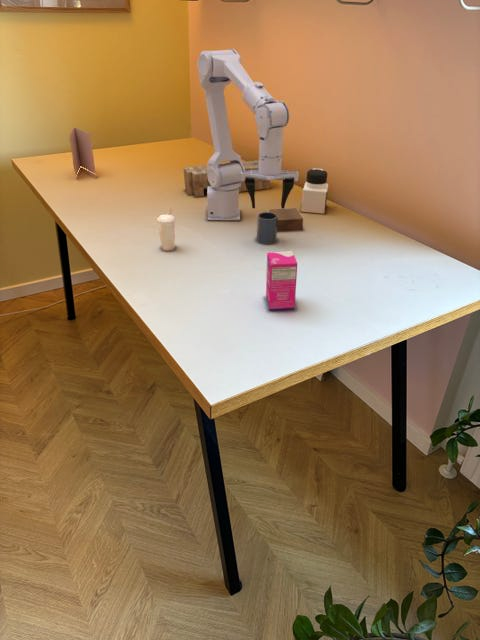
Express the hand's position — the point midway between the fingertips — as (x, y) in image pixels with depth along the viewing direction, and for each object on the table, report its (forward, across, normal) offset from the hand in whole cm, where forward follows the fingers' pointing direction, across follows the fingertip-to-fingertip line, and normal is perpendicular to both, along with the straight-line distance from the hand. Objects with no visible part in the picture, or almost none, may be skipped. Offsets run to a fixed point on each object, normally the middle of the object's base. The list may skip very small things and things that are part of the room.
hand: (268, 207), depth 136 cm
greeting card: (+10, -61, +54) cm, 82 cm away
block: (+9, +6, +10) cm, 15 cm away
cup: (+9, 0, 0) cm, 9 cm away
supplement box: (+10, +1, -33) cm, 34 cm away
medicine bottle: (+10, +16, +23) cm, 30 cm away
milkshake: (+10, -26, -5) cm, 28 cm away
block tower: (+10, -10, +40) cm, 42 cm away
